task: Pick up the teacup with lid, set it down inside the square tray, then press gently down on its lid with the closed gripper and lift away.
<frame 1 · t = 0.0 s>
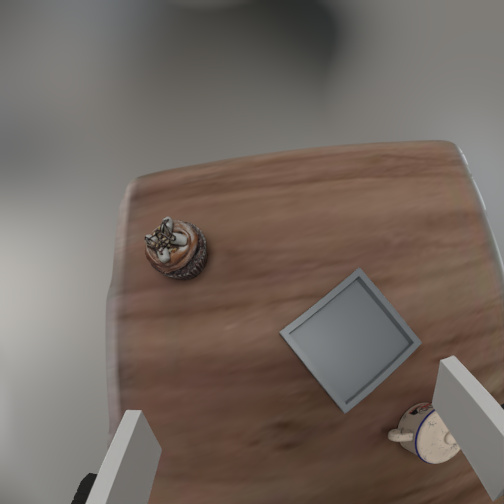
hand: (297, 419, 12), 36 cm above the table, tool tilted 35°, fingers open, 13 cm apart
cupcake: (185, 258, 54), on the table
square tray: (350, 341, 46), on the table
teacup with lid: (411, 427, 40), on the table
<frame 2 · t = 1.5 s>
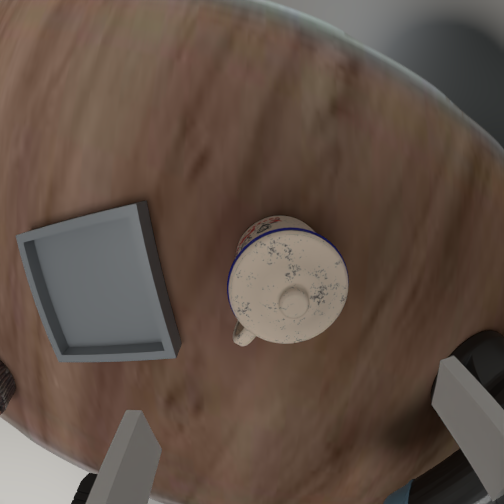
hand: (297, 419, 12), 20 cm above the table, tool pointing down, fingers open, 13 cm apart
square tray: (98, 286, 32), on the table
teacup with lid: (270, 269, 32), on the table
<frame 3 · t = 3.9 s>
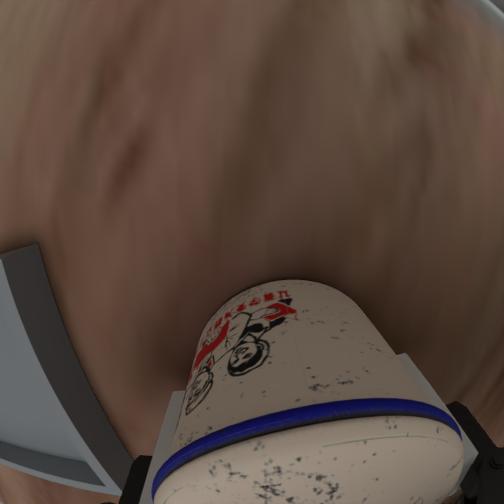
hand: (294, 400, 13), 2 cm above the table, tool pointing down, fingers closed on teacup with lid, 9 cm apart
square tray: (4, 374, 15), on the table
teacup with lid: (269, 377, 15), on the table, touching gripper
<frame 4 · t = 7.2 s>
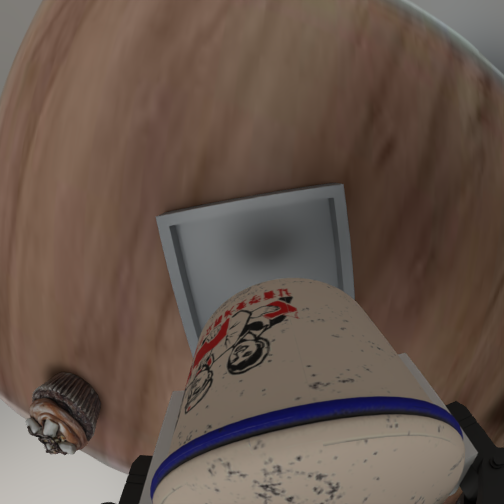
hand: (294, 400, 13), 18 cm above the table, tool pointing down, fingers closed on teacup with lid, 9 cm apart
cupcake: (76, 394, 35), on the table
square tray: (263, 278, 30), on the table
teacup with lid: (269, 376, 15), point 16 cm above the table, touching gripper
when the fingers open (4 cm above the table, at t = 10.3 s): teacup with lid drops 1 cm, resting on square tray.
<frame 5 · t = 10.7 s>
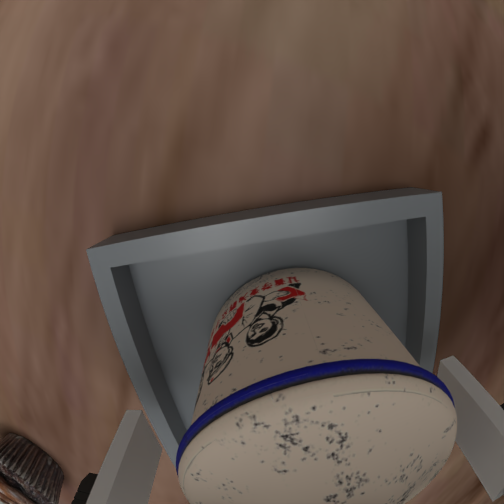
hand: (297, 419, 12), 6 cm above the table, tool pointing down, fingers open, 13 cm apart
cupcake: (34, 457, 22), on the table
square tray: (285, 349, 17), on the table
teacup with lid: (277, 361, 16), point 1 cm above the table, touching square tray
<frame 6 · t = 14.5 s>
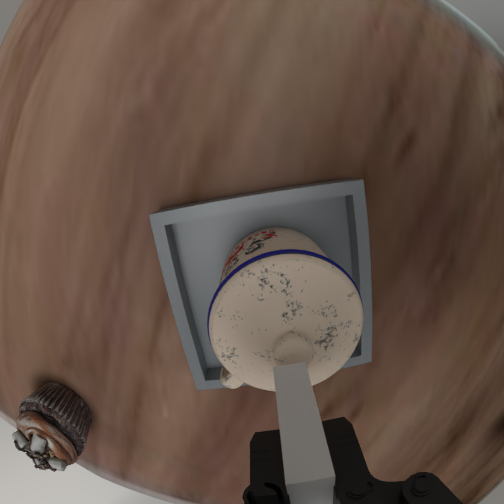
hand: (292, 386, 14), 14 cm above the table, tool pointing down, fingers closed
cupcake: (66, 405, 31), on the table
square tray: (270, 285, 27), on the table
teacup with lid: (265, 291, 26), point 1 cm above the table, touching square tray
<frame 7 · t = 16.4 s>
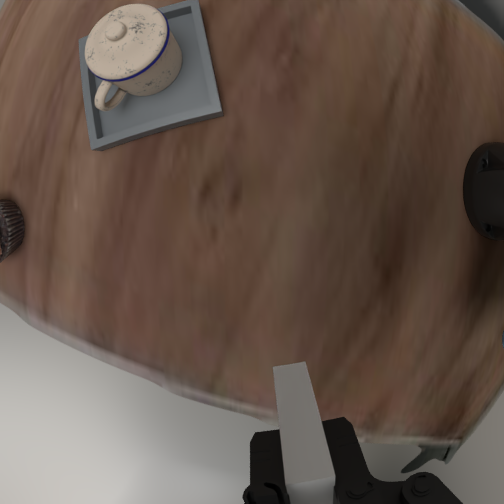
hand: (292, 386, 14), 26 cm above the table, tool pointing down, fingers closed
cupcake: (8, 225, 37), on the table
square tray: (148, 74, 33), on the table
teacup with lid: (143, 75, 32), point 1 cm above the table, touching square tray
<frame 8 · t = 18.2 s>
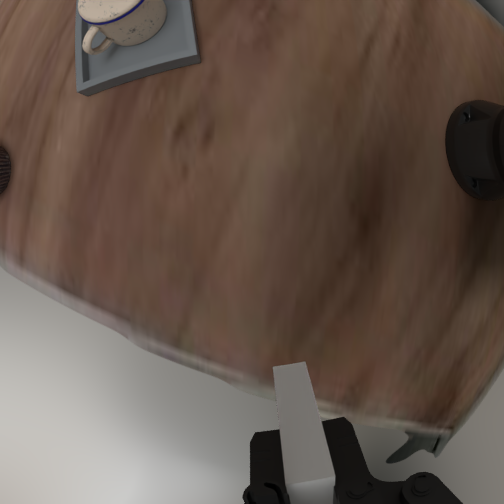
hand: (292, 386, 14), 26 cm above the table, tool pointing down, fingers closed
square tray: (136, 29, 32), on the table
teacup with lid: (130, 29, 31), point 1 cm above the table, touching square tray
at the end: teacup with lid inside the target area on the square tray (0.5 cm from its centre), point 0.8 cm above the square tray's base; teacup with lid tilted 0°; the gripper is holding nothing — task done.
